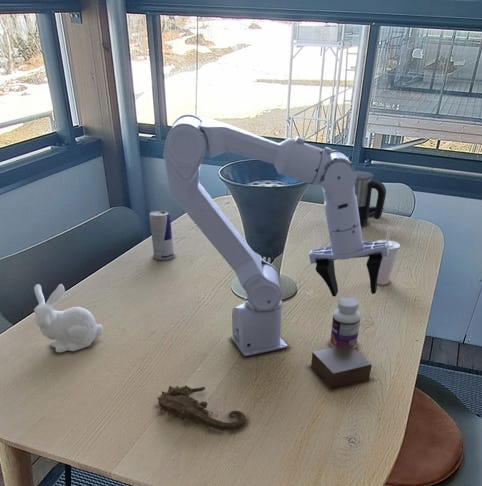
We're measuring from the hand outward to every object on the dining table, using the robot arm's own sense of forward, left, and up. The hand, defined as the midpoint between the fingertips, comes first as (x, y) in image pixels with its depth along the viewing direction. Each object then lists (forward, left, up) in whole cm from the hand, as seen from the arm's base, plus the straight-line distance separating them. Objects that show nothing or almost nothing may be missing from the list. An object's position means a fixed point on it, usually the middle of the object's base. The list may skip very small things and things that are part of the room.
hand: (354, 292), depth 102 cm
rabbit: (-54, +20, -11) cm, 58 cm away
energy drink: (-24, +59, -11) cm, 65 cm away
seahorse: (-36, -11, -11) cm, 39 cm away
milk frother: (+44, +67, -11) cm, 82 cm away
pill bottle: (-2, -1, -11) cm, 11 cm away
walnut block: (-8, -10, -11) cm, 17 cm away
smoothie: (+23, +23, -11) cm, 35 cm away
